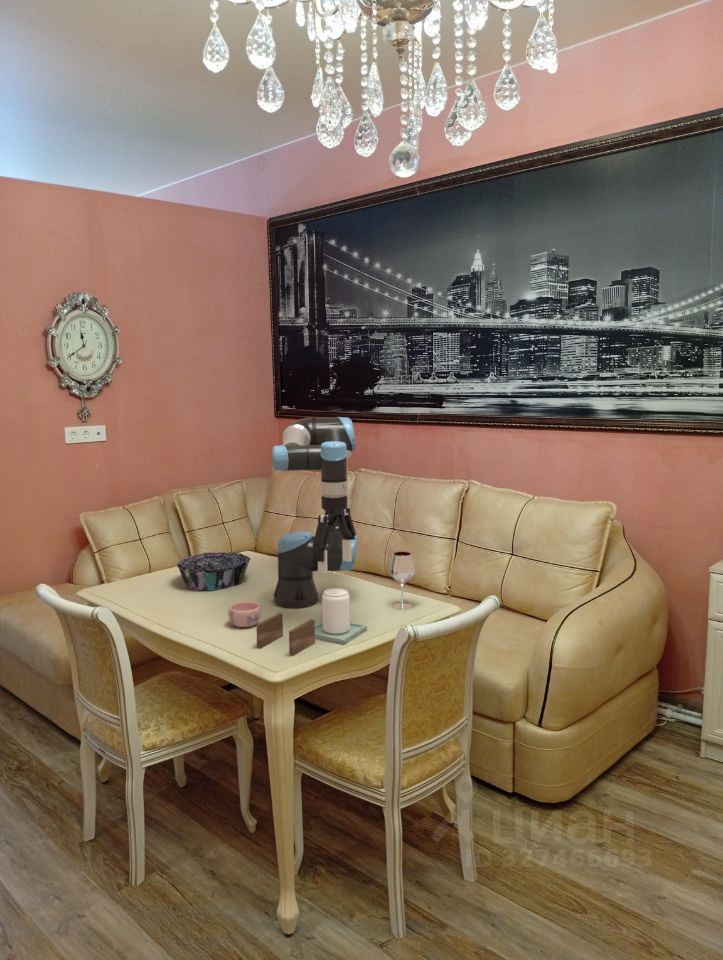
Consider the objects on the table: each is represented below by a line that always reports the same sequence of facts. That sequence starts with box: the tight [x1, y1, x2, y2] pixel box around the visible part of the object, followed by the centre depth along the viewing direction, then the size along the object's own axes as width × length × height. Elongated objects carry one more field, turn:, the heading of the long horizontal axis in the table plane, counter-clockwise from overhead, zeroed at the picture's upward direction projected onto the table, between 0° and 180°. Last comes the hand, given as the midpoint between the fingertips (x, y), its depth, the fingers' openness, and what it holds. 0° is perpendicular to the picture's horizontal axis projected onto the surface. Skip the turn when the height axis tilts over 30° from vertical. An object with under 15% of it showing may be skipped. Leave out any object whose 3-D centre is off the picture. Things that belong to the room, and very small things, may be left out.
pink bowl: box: [227, 601, 263, 628], centre depth 233 cm, size 12×10×6 cm
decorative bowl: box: [175, 551, 251, 592], centre depth 276 cm, size 26×28×10 cm
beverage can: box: [321, 587, 351, 634], centre depth 224 cm, size 8×8×12 cm
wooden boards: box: [255, 612, 316, 657], centre depth 215 cm, size 12×11×7 cm
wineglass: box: [389, 551, 416, 611], centre depth 247 cm, size 8×8×18 cm
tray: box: [315, 620, 368, 646], centre depth 225 cm, size 14×14×2 cm
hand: (335, 566), depth 222 cm, fingers open, 13 cm apart
